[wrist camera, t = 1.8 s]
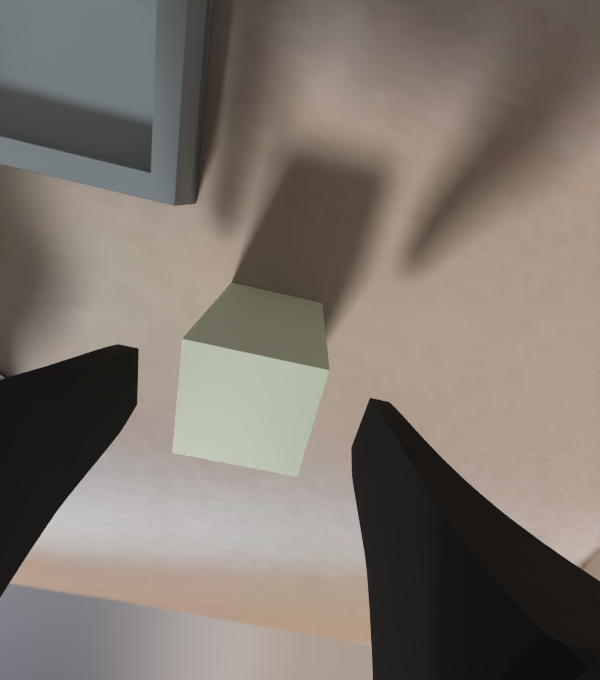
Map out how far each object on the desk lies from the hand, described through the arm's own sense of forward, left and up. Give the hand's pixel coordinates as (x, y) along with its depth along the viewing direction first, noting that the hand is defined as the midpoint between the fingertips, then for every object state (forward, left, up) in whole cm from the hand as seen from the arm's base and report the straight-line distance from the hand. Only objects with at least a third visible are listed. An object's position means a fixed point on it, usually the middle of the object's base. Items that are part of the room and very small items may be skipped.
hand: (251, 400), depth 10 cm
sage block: (0, 0, -5) cm, 5 cm away
